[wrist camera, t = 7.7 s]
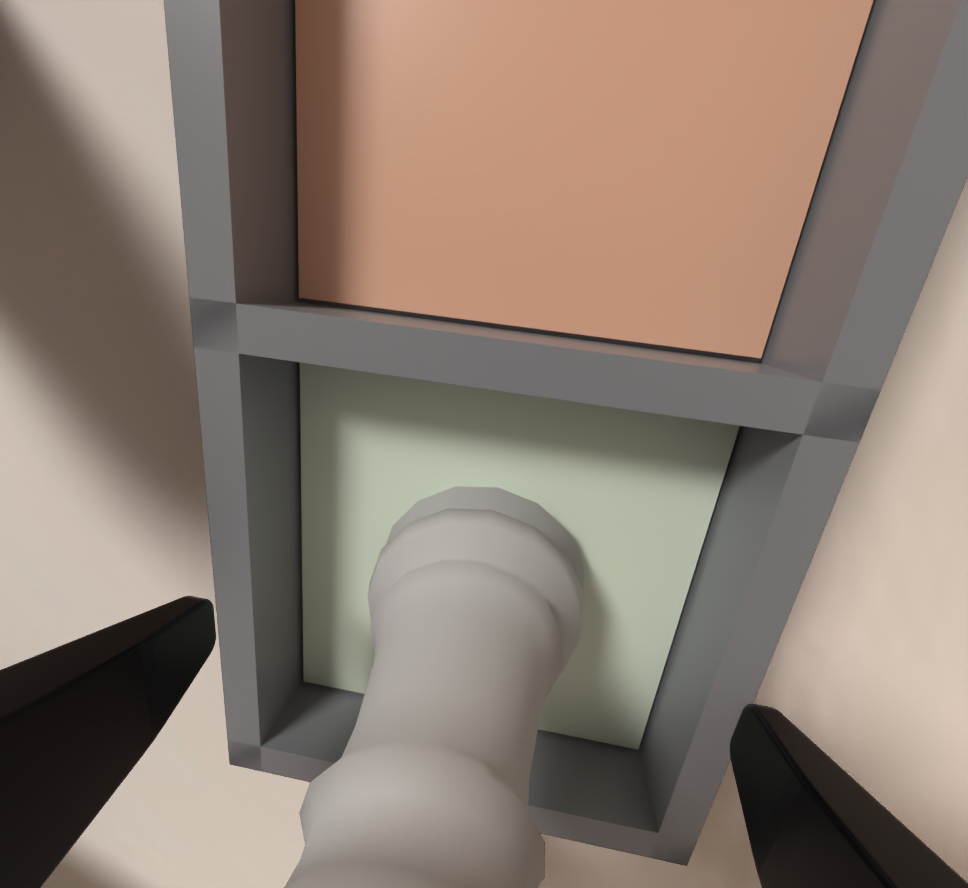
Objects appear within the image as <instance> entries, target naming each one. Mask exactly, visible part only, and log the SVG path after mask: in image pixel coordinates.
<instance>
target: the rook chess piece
mask: <svg viewBox="0 0 968 888" xmlns="http://www.w3.org/2000/svg"><path fill="white" fill-rule="evenodd" d="M583 583H584V566H583V564H582V561H581V559H580V557H579V554H578V552H577V550H576V547H575V545H574V543H573V541H572V538H571V536H570V534H569V532H568V531H567V530H566V529H565V528H564V527H563V526H562V525H561V524H560V523H559V522H558V521H556V520H555V519H554V518H553V517H552V516H551V515H550V514H549V513H548V512H547V511H546V510H545V509H544V508H543V507H542V506H540V505H539V504H538V503H536V502H533V501H531V500H528V499H526V498H523V497H521V496H518V495H516V494H513V493H511V492H508V491H506V490H503V489H501V488H498V487H457V486H455V487H453V488H450V489H447V490H445V491H442V492H439V493H437V494H434V495H431V496H429V497H426V498H423V499H421V500H418V501H417V502H416V503H415V504H414V505H413V506H412V507H411V508H410V509H409V510H408V511H407V512H406V513H405V514H404V515H403V516H402V517H401V518H400V519H399V520H398V521H397V522H396V523H395V524H394V525H393V526H392V528H391V531H390V534H389V537H388V540H387V543H386V545H385V546H384V547H383V548H382V549H381V551H380V554H379V557H378V560H377V563H376V566H375V569H374V571H373V574H372V577H371V580H370V584H369V590H368V603H369V611H370V619H371V624H370V626H371V634H372V642H373V650H374V663H373V667H372V670H371V673H370V677H369V680H368V684H367V687H366V691H365V694H364V698H363V701H362V705H361V708H360V712H359V715H358V719H357V722H356V725H355V728H354V730H353V733H352V735H351V737H350V739H349V742H348V744H347V746H346V748H345V751H344V753H343V755H342V757H341V759H339V760H338V761H337V762H336V763H334V764H333V765H332V766H330V767H329V768H328V769H327V770H325V771H324V772H323V773H322V774H320V775H319V776H318V777H316V778H315V779H314V780H313V781H311V782H310V784H309V787H308V790H307V793H306V796H305V798H304V801H303V804H302V807H301V810H300V819H301V824H302V830H303V835H304V840H305V847H304V850H303V853H302V857H301V859H300V861H299V863H298V865H297V866H296V868H295V870H294V872H293V874H292V875H291V877H290V879H289V881H288V882H287V884H286V886H285V888H538V886H539V885H540V883H541V882H542V880H543V879H544V876H545V842H544V840H543V839H542V837H541V835H540V833H539V831H538V830H537V828H536V826H535V824H534V822H533V821H532V819H531V817H530V815H529V813H528V799H529V778H530V772H531V766H532V760H533V754H534V748H535V742H536V737H537V731H538V725H539V719H540V713H541V707H542V702H543V699H544V698H546V697H547V696H548V694H549V692H550V691H551V689H552V687H553V685H554V684H555V682H556V680H557V678H558V677H559V675H561V673H562V672H563V670H564V668H565V666H566V665H567V663H568V661H569V659H570V658H571V656H572V654H573V652H574V651H575V649H576V647H577V645H578V644H579V641H580V637H581V634H582V631H583V609H584V592H583Z"/></svg>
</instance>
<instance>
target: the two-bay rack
mask: <svg viewBox="0 0 968 888" xmlns="http://www.w3.org/2000/svg"><path fill="white" fill-rule="evenodd" d="M164 9H165V21H166V32H167V44H168V55H169V67H170V79H171V90H172V102H173V113H174V125H175V137H176V148H177V160H178V171H179V183H180V194H181V206H182V218H183V229H184V241H185V252H186V264H187V275H188V287H189V299H190V310H191V322H192V333H193V345H194V356H195V368H196V380H197V391H198V403H199V414H200V426H201V438H202V449H203V461H204V472H205V484H206V495H207V507H208V519H209V530H210V542H211V553H212V565H213V576H214V588H215V600H216V611H217V623H218V634H219V646H220V657H221V669H222V681H223V692H224V704H225V715H226V727H227V739H228V750H229V762H230V764H231V765H235V766H240V767H244V768H249V769H253V770H258V771H262V772H267V773H271V774H276V775H280V776H285V777H289V778H294V779H298V780H303V781H307V782H311V781H313V780H314V779H315V778H316V777H318V776H319V775H320V774H322V773H323V772H324V771H325V770H327V769H328V768H329V767H330V766H332V765H333V764H334V763H336V762H337V761H338V760H339V759H341V757H342V755H343V753H344V751H345V748H346V746H347V744H348V742H349V739H350V737H351V735H352V733H353V730H354V728H355V725H356V722H357V719H358V715H359V712H360V708H361V705H362V701H363V698H364V694H365V691H366V687H367V684H368V680H369V677H370V673H371V670H372V667H373V663H374V650H373V642H372V634H371V626H370V624H371V619H370V611H369V603H368V590H369V584H370V580H371V577H372V574H373V571H374V569H375V566H376V563H377V560H378V557H379V554H380V551H381V549H382V548H383V547H384V546H385V545H386V543H387V540H388V537H389V534H390V531H391V528H392V526H393V525H394V524H395V523H396V522H397V521H398V520H399V519H400V518H401V517H402V516H403V515H404V514H405V513H406V512H407V511H408V510H409V509H410V508H411V507H412V506H413V505H414V504H415V503H416V502H417V501H418V500H421V499H423V498H426V497H429V496H431V495H434V494H437V493H439V492H442V491H445V490H447V489H450V488H453V487H455V486H457V487H498V488H501V489H503V490H506V491H508V492H511V493H513V494H516V495H518V496H521V497H523V498H526V499H528V500H531V501H533V502H536V503H538V504H539V505H540V506H542V507H543V508H544V509H545V510H546V511H547V512H548V513H549V514H550V515H551V516H552V517H553V518H554V519H555V520H556V521H558V522H559V523H560V524H561V525H562V526H563V527H564V528H565V529H566V530H567V531H568V532H569V534H570V536H571V538H572V541H573V543H574V545H575V547H576V550H577V552H578V554H579V557H580V559H581V561H582V564H583V566H584V583H583V592H584V609H583V631H582V634H581V637H580V641H579V644H578V645H577V647H576V649H575V651H574V652H573V654H572V656H571V658H570V659H569V661H568V663H567V665H566V666H565V668H564V670H563V672H562V673H561V675H559V677H558V678H557V680H556V682H555V684H554V685H553V687H552V689H551V691H550V692H549V694H548V696H547V697H546V698H544V699H543V702H542V707H541V713H540V719H539V725H538V731H537V737H536V742H535V748H534V754H533V760H532V766H531V772H530V778H529V799H528V813H529V815H530V817H531V819H532V821H533V822H534V824H535V826H536V828H537V830H538V831H539V833H541V834H546V835H550V836H555V837H559V838H564V839H568V840H573V841H577V842H582V843H586V844H591V845H595V846H600V847H604V848H609V849H613V850H618V851H622V852H627V853H631V854H636V855H640V856H645V857H649V858H654V859H658V860H663V861H667V862H672V863H676V864H681V865H685V866H687V864H688V862H689V859H690V857H691V855H692V852H693V850H694V847H695V845H696V842H697V840H698V837H699V835H700V832H701V830H702V828H703V825H704V823H705V820H706V818H707V815H708V813H709V810H710V808H711V805H712V803H713V801H714V798H715V796H716V793H717V791H718V788H719V786H720V783H721V781H722V778H723V776H724V774H725V771H726V769H727V766H728V764H729V761H730V759H731V758H730V740H731V737H732V735H733V732H734V730H735V727H736V725H737V722H738V720H739V717H740V715H741V712H742V710H743V708H744V707H745V706H746V705H747V704H753V702H754V700H755V697H756V695H757V693H758V690H759V688H760V685H761V683H762V680H763V678H764V675H765V673H766V670H767V668H768V666H769V663H770V661H771V658H772V656H773V653H774V651H775V648H776V646H777V643H778V641H779V639H780V636H781V634H782V631H783V629H784V626H785V624H786V621H787V619H788V616H789V614H790V612H791V609H792V607H793V604H794V602H795V599H796V597H797V594H798V592H799V590H800V587H801V585H802V582H803V580H804V577H805V575H806V572H807V570H808V567H809V565H810V563H811V560H812V558H813V555H814V553H815V550H816V548H817V545H818V543H819V540H820V538H821V536H822V533H823V531H824V528H825V526H826V523H827V521H828V518H829V516H830V513H831V511H832V509H833V506H834V504H835V501H836V499H837V496H838V494H839V491H840V489H841V486H842V484H843V482H844V479H845V477H846V474H847V472H848V469H849V467H850V464H851V462H852V459H853V457H854V455H855V452H856V450H857V447H858V445H859V442H860V440H861V437H862V435H863V432H864V430H865V428H866V425H867V423H868V420H869V418H870V415H871V413H872V410H873V408H874V405H875V403H876V401H877V398H878V396H879V393H880V391H881V388H882V386H883V383H884V381H885V378H886V376H887V374H888V371H889V369H890V366H891V364H892V361H893V359H894V356H895V354H896V351H897V349H898V347H899V344H900V342H901V339H902V337H903V334H904V332H905V329H906V327H907V324H908V322H909V320H910V317H911V315H912V312H913V310H914V307H915V305H916V302H917V300H918V297H919V295H920V293H921V290H922V288H923V285H924V283H925V280H926V278H927V275H928V273H929V271H930V268H931V266H932V263H933V261H934V258H935V256H936V253H937V251H938V248H939V246H940V244H941V241H942V239H943V236H944V234H945V231H946V229H947V226H948V224H949V221H950V219H951V217H952V214H953V212H954V209H955V207H956V204H957V202H958V199H959V197H960V194H961V192H962V190H963V187H964V185H965V182H966V180H967V177H968V0H164Z"/></svg>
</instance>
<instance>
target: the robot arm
mask: <svg viewBox="0 0 968 888" xmlns="http://www.w3.org/2000/svg"><path fill="white" fill-rule="evenodd" d="M215 640H216V631H215V620H214V608H213V604H212V602H211V601H210V600H208V599H204V598H198V597H193V596H185V597H182V598H180V599H177V600H175V601H172V602H170V603H167V604H165V605H162V606H160V607H157V608H155V609H152V610H150V611H147V612H145V613H142V614H140V615H137V616H135V617H132V618H129V619H127V620H124V621H122V622H119V623H117V624H114V625H112V626H109V627H107V628H104V629H102V630H99V631H97V632H94V633H92V634H89V635H87V636H84V637H82V638H79V639H77V640H74V641H72V642H69V643H67V644H64V645H62V646H59V647H57V648H54V649H52V650H49V651H47V652H44V653H42V654H39V655H37V656H34V657H32V658H29V659H27V660H24V661H22V662H19V663H17V664H14V665H12V666H9V667H7V668H4V669H2V670H0V888H41V886H42V885H43V884H44V883H45V881H46V880H47V879H48V877H49V876H50V875H51V874H52V872H53V871H54V870H55V868H56V867H57V866H58V864H59V863H60V862H61V861H62V859H63V858H64V857H65V855H66V854H67V853H68V851H69V850H70V849H71V848H72V846H73V845H74V844H75V842H76V841H77V840H78V839H79V837H80V836H81V835H82V833H83V832H84V831H85V829H86V828H87V827H88V826H89V824H90V823H91V822H92V820H93V819H94V818H95V817H96V815H97V814H98V813H99V811H100V810H101V809H102V807H103V806H104V805H105V804H106V802H107V801H108V800H109V798H110V797H111V796H112V794H113V793H114V792H115V791H116V789H117V788H118V787H119V785H120V784H121V783H122V782H123V780H124V779H125V778H126V776H127V775H128V774H129V772H130V771H131V770H132V769H133V767H134V766H135V765H136V763H137V762H138V761H139V760H140V758H141V757H142V756H143V754H144V753H145V752H146V750H147V749H148V747H149V746H150V745H151V743H152V742H153V741H154V739H155V738H156V736H157V735H158V733H159V732H160V731H161V729H162V728H163V726H164V725H165V723H166V722H167V720H168V718H169V717H170V715H171V714H172V712H173V711H174V709H175V708H176V706H177V705H178V703H179V701H180V700H181V698H182V697H183V695H184V694H185V692H186V691H187V689H188V688H189V686H190V684H191V683H192V681H193V680H194V678H195V677H196V675H197V674H198V672H199V671H200V669H201V667H202V666H203V664H204V663H205V661H206V660H207V658H208V657H209V655H210V653H211V652H212V650H213V647H214V645H215ZM730 758H731V762H732V767H733V771H734V775H735V779H736V784H737V788H738V792H739V797H740V801H741V805H742V810H743V814H744V818H745V823H746V827H747V831H748V836H749V840H750V844H751V849H752V853H753V857H754V861H755V865H756V869H757V872H758V876H759V879H760V883H761V886H762V888H968V883H967V882H966V881H965V880H964V879H963V878H962V877H960V876H959V875H958V874H957V873H956V872H955V871H954V870H953V869H952V868H951V867H949V866H948V865H947V864H946V863H945V862H944V861H943V860H942V859H941V858H940V857H938V856H937V855H936V854H935V853H934V852H933V851H932V850H931V849H930V848H929V847H928V846H926V845H925V844H924V843H923V842H922V841H921V840H920V839H919V838H918V837H917V836H915V835H914V834H913V833H912V832H911V831H910V830H909V829H908V828H907V827H906V826H904V825H903V824H902V823H901V822H900V821H899V820H898V819H897V818H896V817H895V816H894V815H892V814H891V813H890V812H889V811H888V810H887V809H886V808H885V807H884V806H883V805H881V804H880V803H879V802H878V801H877V800H876V799H875V798H874V797H873V796H872V795H870V794H869V793H868V792H867V791H866V790H865V789H864V788H863V787H862V786H861V785H859V784H858V783H857V782H856V781H855V780H854V779H853V778H852V777H851V776H850V775H849V774H847V773H846V772H845V771H844V770H843V769H842V768H841V767H840V766H839V765H838V764H836V763H835V762H834V761H833V760H832V759H831V758H830V757H829V756H828V755H827V754H825V753H824V752H823V751H822V750H821V749H820V748H819V747H818V746H817V745H816V744H815V743H813V742H812V741H811V740H810V739H809V738H808V737H807V736H806V735H805V734H804V733H802V732H801V731H800V730H799V729H798V728H797V727H796V726H795V725H794V724H793V723H791V722H790V721H789V720H788V719H787V718H786V717H785V716H784V715H783V714H782V713H780V712H779V711H778V710H776V709H774V708H772V707H767V706H762V705H757V704H747V705H746V706H745V707H744V708H743V710H742V712H741V715H740V717H739V720H738V722H737V725H736V727H735V730H734V732H733V735H732V737H731V740H730Z"/></svg>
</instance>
